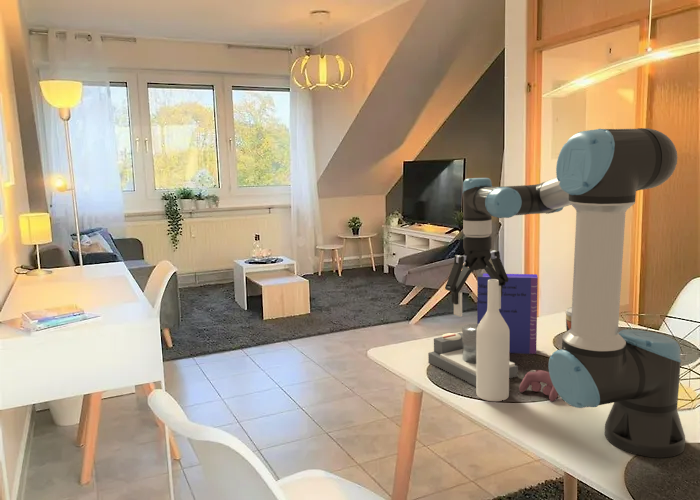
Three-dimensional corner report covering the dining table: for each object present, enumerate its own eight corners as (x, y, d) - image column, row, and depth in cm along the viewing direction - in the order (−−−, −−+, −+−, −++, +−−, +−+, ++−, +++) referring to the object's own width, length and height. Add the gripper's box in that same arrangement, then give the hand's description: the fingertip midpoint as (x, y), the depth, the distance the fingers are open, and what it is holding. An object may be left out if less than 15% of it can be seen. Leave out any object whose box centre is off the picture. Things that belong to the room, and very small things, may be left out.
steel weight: (490, 364, 157) (490, 333, 156) (461, 363, 159) (460, 331, 158) (492, 355, 165) (492, 324, 163) (464, 353, 167) (463, 323, 165)
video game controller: (560, 404, 144) (567, 377, 145) (552, 402, 141) (559, 374, 142) (524, 393, 151) (531, 367, 152) (516, 390, 148) (523, 364, 149)
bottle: (488, 404, 142) (489, 285, 137) (470, 392, 149) (469, 278, 144) (515, 398, 145) (517, 281, 140) (496, 386, 152) (496, 275, 147)
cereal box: (535, 349, 179) (536, 273, 175) (536, 354, 175) (537, 277, 171) (477, 346, 184) (477, 272, 180) (477, 351, 179) (477, 276, 175)
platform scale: (517, 376, 158) (517, 349, 157) (477, 387, 152) (477, 359, 151) (464, 352, 178) (464, 328, 177) (426, 361, 172) (426, 336, 171)
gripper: (502, 230, 165) (502, 302, 168) (431, 238, 154) (432, 315, 157) (521, 232, 159) (521, 307, 162) (448, 241, 147) (449, 321, 151)
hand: (477, 311), depth 160 cm, fingers open, 13 cm apart
